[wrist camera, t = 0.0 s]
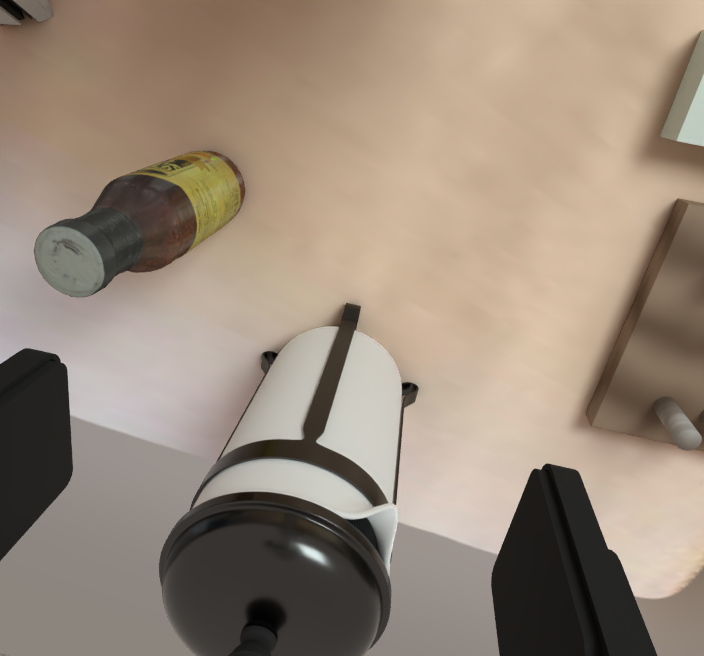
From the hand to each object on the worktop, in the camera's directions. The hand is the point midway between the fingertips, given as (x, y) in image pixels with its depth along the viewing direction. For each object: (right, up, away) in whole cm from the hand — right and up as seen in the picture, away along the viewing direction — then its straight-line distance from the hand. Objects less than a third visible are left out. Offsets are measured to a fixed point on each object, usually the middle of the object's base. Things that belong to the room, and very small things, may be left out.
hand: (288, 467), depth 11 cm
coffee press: (-1, -2, +42) cm, 42 cm away
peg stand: (+31, +2, +35) cm, 47 cm away
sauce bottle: (-11, +15, +36) cm, 40 cm away
